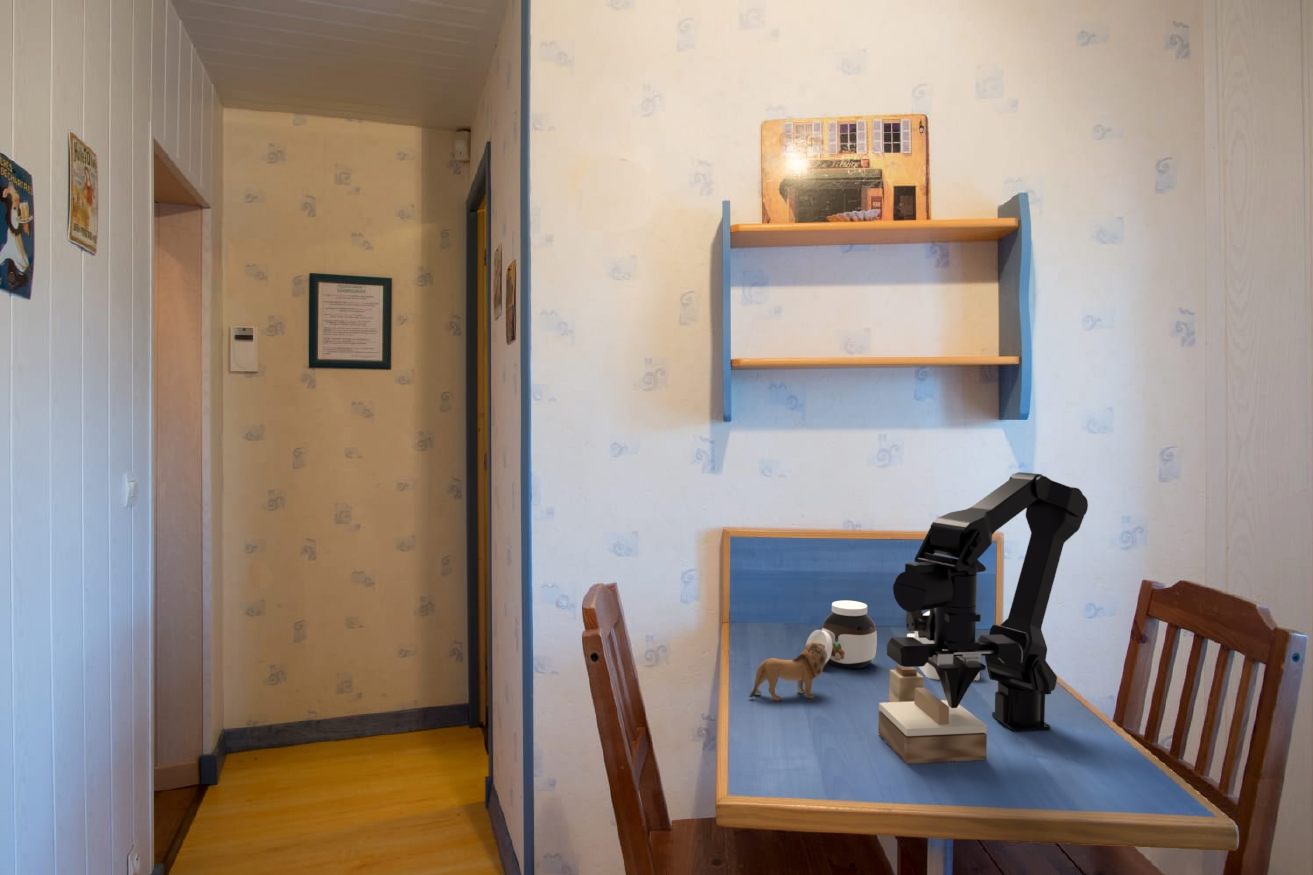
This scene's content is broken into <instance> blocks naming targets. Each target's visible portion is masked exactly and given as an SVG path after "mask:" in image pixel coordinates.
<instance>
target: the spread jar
mask: <svg viewBox="0 0 1313 875" xmlns="http://www.w3.org/2000/svg"><path fill="white" fill-rule="evenodd" d="M876 627H877V626H876V624H875V621H873V619H872V618H871V617H870V616H869V615H868V605H867V604H866V603H865V602H864V603H863V602H861V601H855V600H835V601H833V602H832V603H831V613H830V614H828V616H827V617H825V620H824V621H823V623H822V629H815V630H814V631H812V632H811V633H810V635H809V636H808V638H807V640H806V644H805V646H806V645H807V644H809V643H811V642H819V643H821V644H823V645H825V650H826V653H827V658H826V662H825V665H826V664H827V663H828V662H829V663H830V664H831V665H833V666H834V667H837V668H840V669H841V668H842V669H846V668H859V669H862V668H865V667H867V666H869V664H870V663H872V661H873V660H874V659H875V657H876V654H877V643H878V642H877V633H878V632H877V628H876Z"/></svg>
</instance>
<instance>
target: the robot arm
mask: <svg viewBox="0 0 1313 875" xmlns="http://www.w3.org/2000/svg"><path fill="white" fill-rule="evenodd" d="M1088 507H1089V502H1088V499H1087V497H1086V496H1085V495H1084V494H1083V492H1082V491H1081V489H1080V488H1078V487H1073V486H1072V487H1071V486H1068V485H1066V484H1063V483H1060V482H1057V481H1055V480H1052V479H1051V478H1049V477H1048V476H1045V475H1043V474H1042V473H1032V472H1021V471H1020V472H1019V471H1017V472H1016V473H1012V474H1011V475H1010V476H1009V479H1008V480H1007V481H1005V482H1004V483H1003V484H1001V485H1000V486H999V487H997V488H996V489H994V490H992V492H990V493H989V494H988V495H986V496H984V497H983V498H982V499H980V500H979V501H978V502H976V503H974V504H973V505H972V506H971V507H969V508H965V509H962V510H956V511H951V512H948V513H947V514H944V515H941V516H938V517H937V518H936V519H935V520H934V521H932V523H931V524H930V528H929V529H928V532H927V534H926V535H925V537H924V539H923V541H922V544H921V545H920V547H919V549H918V551H917V554H916V555H915V558H914V562H906V563H905V564H904V571H903V572H901V573H900V574H898V575H897V577H896V578H895V581H894V583H893V584H892V585H893V586H892V587H893V588H892V592H893V596H894V599H895V601H896V603H897V605H898V606H899V607H900V608H901V609H902V610H904V612H906V614H905V625H906V630H907V632H914V633H915V631H918V637H919V638H926V639H928V640H930V641H932V640H933V641H934V644H923V643H921V642H920V641H918V640H917V639H915V638H914V637H907V636H902V637H901V636H900V637H894V636H893V637H891V638H890V639H889V640H888V642H887V644H886V656H888V657H889V658H890V659H892V660H893V661H894V662H895V663H897V665H901V666H904V667H914V668H916V667H918V668H919V667H921V666H924V665H925V664H926V663H929V664H930V665H931V666H933V667H934V668H935V670H936V672H937V674H938V676H939V678H940V679H939V681H940V684H941V687H942V690H943V693H944V696H945V700H947V702H948V705H949V707H951V708H957V707H958V705H960V703H961V701H962V700H963V698H964V696H965V694H966V693H967V691H968V689H969V688H970V687H971V685H972V683H973V680H974V679H975V677H976V676H977V675H978V673H979V672H981V671H985V670H986V669H987V673H988V677H989V680H992V681H996V682H997V691H995V693H994V694H995V696H994V711H993V712H991V717H992V718H994V719H995V720H996V721H997V720H998V721H999V722H1000V723H1001V724H1002V725H1004V726H1005V727H1007V728H1009V730H1011V731H1013V732H1015V731H1016V732H1017V731H1019V732H1020V731H1021V732H1022V731H1041V730H1045V731H1046V730H1051V728H1052V727H1051V725H1050V724H1049V723H1047V722H1046V721H1045V718H1046V717H1045V714H1046V713H1045V712H1046V711H1045V710H1046V695H1051V694H1052V692H1053V691H1055V689H1056V686H1057V681H1058V676H1057V675H1056V673H1055V672H1054V670H1053V669H1052V668H1051V666H1050V665H1049V663H1048V662H1047V660H1046V659H1047V654H1048V645H1047V643H1046V639H1045V637H1044V634H1043V631H1042V626H1043V622H1044V619H1045V616H1046V612H1047V608H1048V604H1049V601H1050V597H1051V593H1052V589H1053V585H1054V582H1055V578H1056V574H1057V571H1058V567H1059V563H1060V559H1061V555H1062V552H1063V547H1064V545H1065V543H1066V542H1067V541H1068V540H1069V539H1070V538H1072V536H1074V535H1075V534H1076V533H1077V532H1079V530H1080V528H1081V525H1082V524H1083V521H1084V518H1085V515H1086V514H1087V512H1088ZM1024 510H1025V519H1026V521H1027V526H1028V527H1029V531H1030V537H1029V540H1028V544H1027V547H1026V548H1027V549H1026V552H1025V555H1024V559H1023V562H1022V566H1021V570H1020V574H1019V577H1018V581H1017V584H1016V588H1015V591H1014V596H1013V599H1012V602H1011V607H1010V610H1009V613H1008V616H1007V618H1006V619H1005V620H1004V621H1003V622H1002V623H1001V624H1000V625H999V624H996V623H993V624H992V626H991V627H990V629H989V634H981V635H980V636H979V637H978V638H977V640H976V626H977V625H976V624H977V622H981V614H979V613H978V612H977V587H978V586H977V583H978V580H977V578H978V576H977V575H978V573H983V572H986V570H987V567H986V566H985V565H984V564H983V563H982V562H981V561H979V559H980V558H981V556H982V555H983V554H984V553H985V552H986V551H987V550H989V548H990V546H992V542H993V535H994V534H995V532H996V531H998V530H999V529H1000V528H1002V527H1003V526H1004V525H1006V524H1008V522H1010V521H1012V519H1014V518H1015V517H1016V516H1018V515H1019V514H1020V513H1022V512H1023V511H1024ZM927 610H928V611H930V614H929V615H923V614H924V613H923V611H927ZM942 649H943V650H942ZM982 656H984V660H985V664H986V665H985V664H984V663H982Z"/></svg>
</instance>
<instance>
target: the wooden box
mask: <svg viewBox="0 0 1313 875" xmlns="http://www.w3.org/2000/svg"><path fill="white" fill-rule="evenodd" d="M878 733H879V734H880V736H881V737H882V738H883V739H884V740H885V741H886V742H885V741H884V740H883V739H882V738H881V737H880V736H879V737H880V738H881V739H882V740H883V741H884V742H885V743H886V744H887V745H888V746H889V748H890V749H892V751H893V752H894V753H895V754H896V755H897V756H898V757H899V758H900V759H901V760H902V761H903V762H904V763H905V765H912V764H930V763H931V764H932V763H950V762H951V761H952V762H953V761H955V762H971V761H972V762H973V761H974V760H975V761H986V760H987V744H988V743H987V742H988V741H987V740H988V738H987V737H988V734H986V733H966V734H944V735H921V736H906V735H905V734H904V733H903V732H902V731H901V730H900V729H899V728H898V727H897V726H896V725H895V724H894V723H893V722H892V721H891V720H890V719H888V718H887V717H886V716H885V715H884V714H883V713H882V712H881V711H880V710H879V711H878ZM952 762H951V763H952ZM953 763H954V762H953Z"/></svg>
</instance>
